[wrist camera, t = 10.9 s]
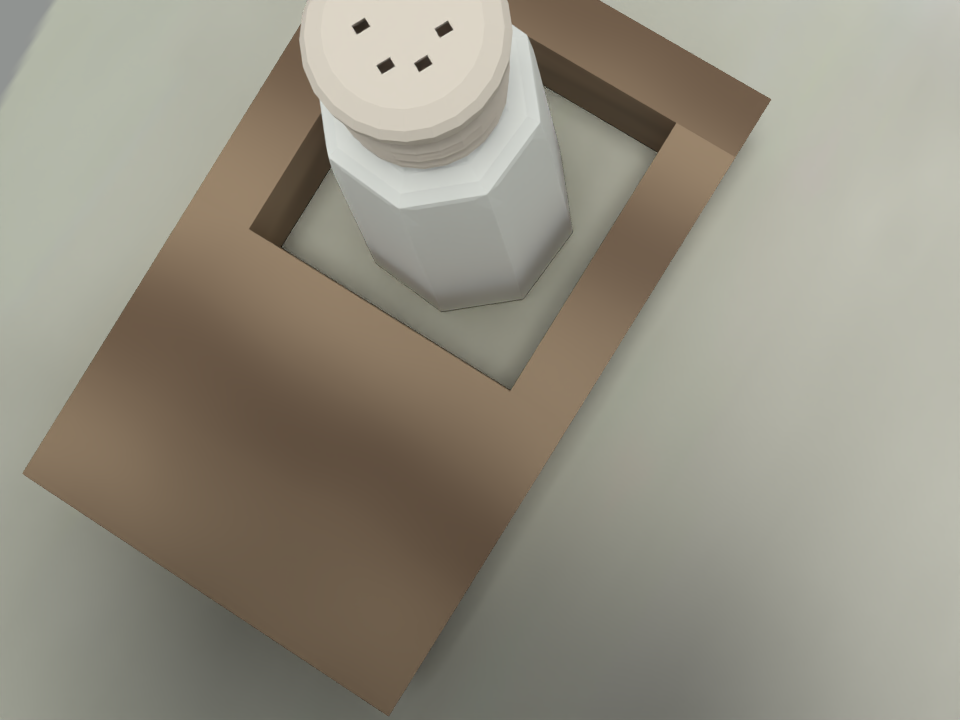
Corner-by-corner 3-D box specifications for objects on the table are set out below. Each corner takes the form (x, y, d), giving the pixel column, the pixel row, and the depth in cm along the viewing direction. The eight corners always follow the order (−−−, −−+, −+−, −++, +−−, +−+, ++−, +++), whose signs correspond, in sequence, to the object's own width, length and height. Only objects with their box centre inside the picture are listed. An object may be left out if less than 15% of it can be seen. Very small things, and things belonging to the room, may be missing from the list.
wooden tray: (405, 679, 22) (388, 716, 19) (78, 464, 23) (22, 473, 20) (744, 133, 22) (771, 99, 19) (406, -63, 23) (390, -120, 20)
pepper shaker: (616, 243, 22) (697, 93, 11) (431, 355, 22) (328, 317, 11) (504, 62, 22) (475, -260, 11) (323, 174, 22) (120, -35, 11)
